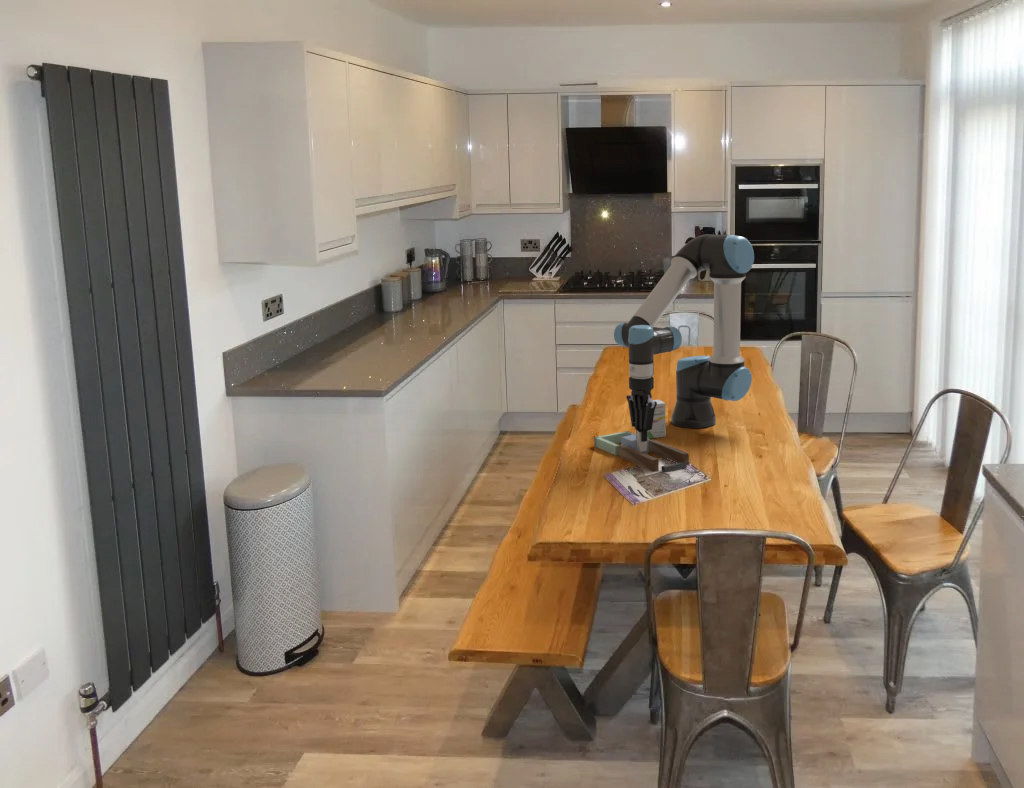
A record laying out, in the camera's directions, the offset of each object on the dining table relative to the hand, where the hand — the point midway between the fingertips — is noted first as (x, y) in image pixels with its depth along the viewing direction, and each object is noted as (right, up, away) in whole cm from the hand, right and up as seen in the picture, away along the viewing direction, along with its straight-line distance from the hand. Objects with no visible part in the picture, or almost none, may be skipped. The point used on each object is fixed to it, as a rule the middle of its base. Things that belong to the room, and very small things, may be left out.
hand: (641, 450), depth 313 cm
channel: (+3, -3, -5) cm, 6 cm away
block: (-2, -1, +4) cm, 4 cm away
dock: (-5, 0, +10) cm, 11 cm away
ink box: (+6, +3, +21) cm, 22 cm away
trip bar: (+8, -5, -14) cm, 17 cm away
